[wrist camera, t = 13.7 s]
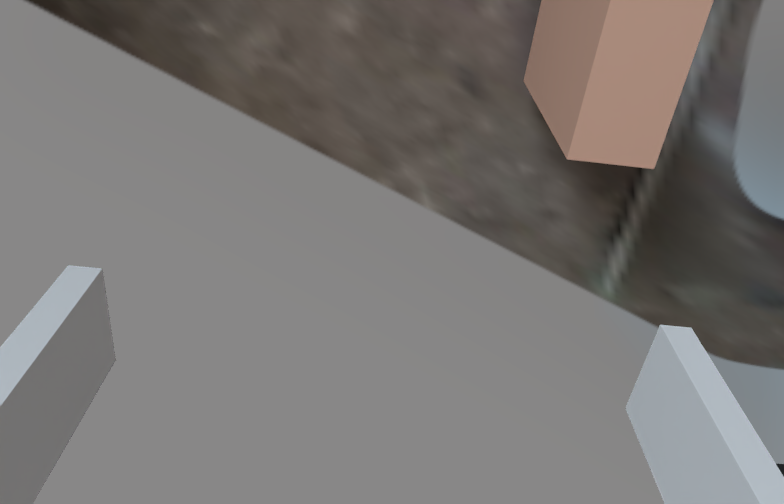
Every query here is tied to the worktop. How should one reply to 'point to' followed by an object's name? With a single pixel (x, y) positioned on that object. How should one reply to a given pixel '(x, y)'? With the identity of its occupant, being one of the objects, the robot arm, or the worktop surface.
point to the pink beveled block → (612, 74)
